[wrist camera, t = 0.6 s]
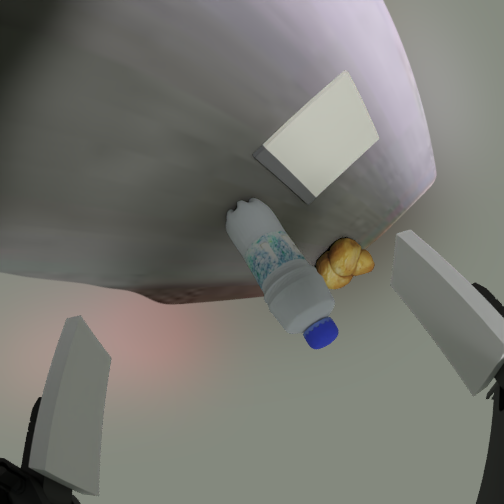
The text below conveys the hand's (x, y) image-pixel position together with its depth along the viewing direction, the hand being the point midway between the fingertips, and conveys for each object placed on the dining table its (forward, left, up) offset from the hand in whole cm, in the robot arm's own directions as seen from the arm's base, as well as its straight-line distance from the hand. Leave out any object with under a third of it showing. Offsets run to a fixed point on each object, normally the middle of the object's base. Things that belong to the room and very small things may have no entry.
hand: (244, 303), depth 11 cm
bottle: (+19, -4, -21) cm, 29 cm away
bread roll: (+47, -2, -21) cm, 52 cm away
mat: (+20, +10, -21) cm, 31 cm away
